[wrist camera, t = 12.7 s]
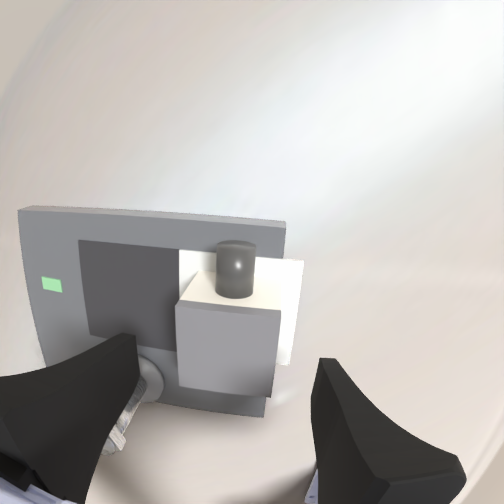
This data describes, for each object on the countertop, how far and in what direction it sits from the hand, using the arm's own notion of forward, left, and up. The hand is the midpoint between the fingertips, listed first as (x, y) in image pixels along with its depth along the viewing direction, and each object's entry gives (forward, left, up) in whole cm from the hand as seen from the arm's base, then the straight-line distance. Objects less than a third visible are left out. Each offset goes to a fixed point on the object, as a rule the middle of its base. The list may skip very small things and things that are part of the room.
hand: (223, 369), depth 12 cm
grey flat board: (-1, +6, -6) cm, 9 cm away
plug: (0, 0, -5) cm, 5 cm away
